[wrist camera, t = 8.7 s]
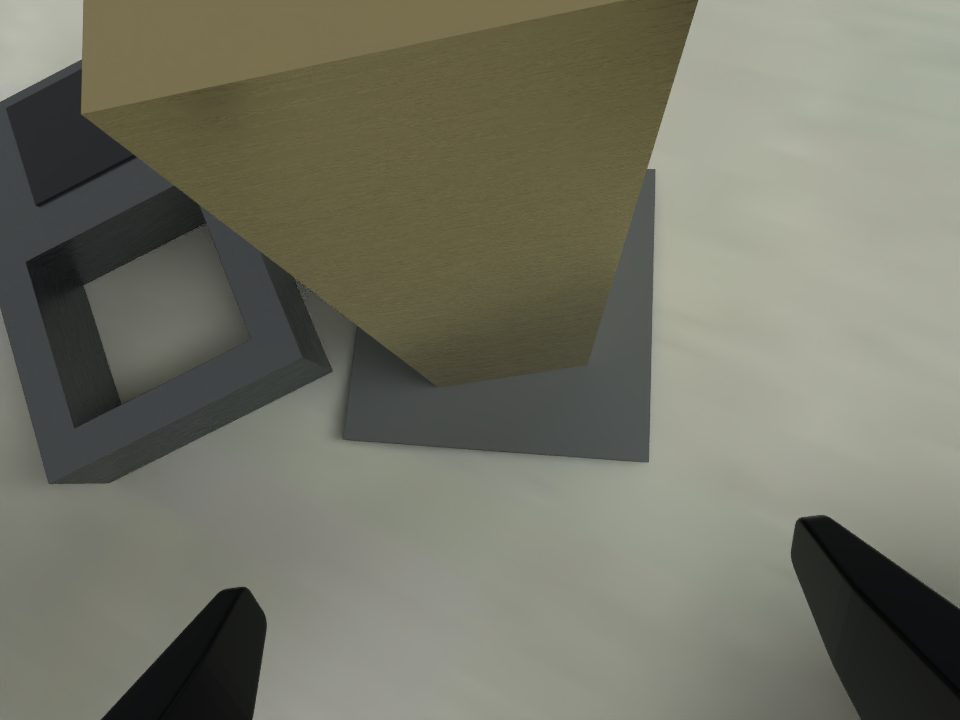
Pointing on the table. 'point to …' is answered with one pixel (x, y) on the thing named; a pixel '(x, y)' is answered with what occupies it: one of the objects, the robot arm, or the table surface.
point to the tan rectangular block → (407, 153)
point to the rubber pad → (530, 383)
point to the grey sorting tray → (98, 250)
